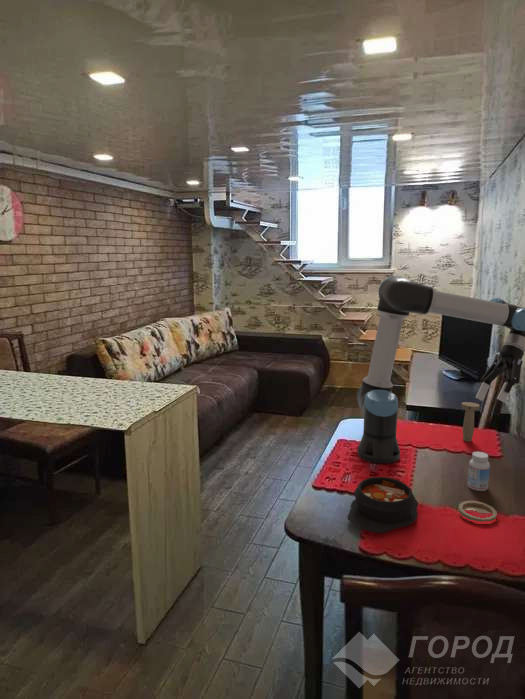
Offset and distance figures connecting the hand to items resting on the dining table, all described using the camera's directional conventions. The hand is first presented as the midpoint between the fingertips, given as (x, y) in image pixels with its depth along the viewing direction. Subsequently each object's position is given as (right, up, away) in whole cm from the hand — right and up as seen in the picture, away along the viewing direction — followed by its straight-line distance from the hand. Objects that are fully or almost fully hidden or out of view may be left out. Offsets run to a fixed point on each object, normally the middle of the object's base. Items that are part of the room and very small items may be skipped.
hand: (489, 399), depth 177 cm
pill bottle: (-13, -26, -20) cm, 36 cm away
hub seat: (-20, -29, -36) cm, 51 cm away
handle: (-1, -18, +16) cm, 24 cm away
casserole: (-47, -30, -36) cm, 66 cm away
